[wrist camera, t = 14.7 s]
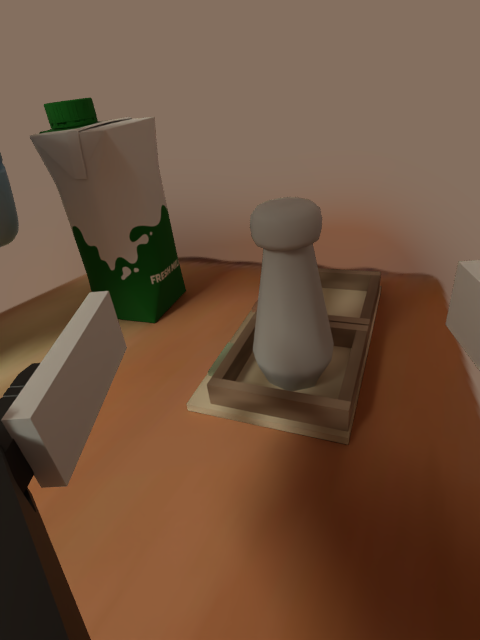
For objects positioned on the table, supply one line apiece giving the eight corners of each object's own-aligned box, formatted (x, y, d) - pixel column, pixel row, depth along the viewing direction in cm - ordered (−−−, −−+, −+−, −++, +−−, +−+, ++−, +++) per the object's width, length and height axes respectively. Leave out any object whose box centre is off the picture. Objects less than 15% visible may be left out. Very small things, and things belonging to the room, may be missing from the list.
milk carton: (131, 283, 49) (79, 98, 39) (198, 288, 46) (160, 88, 36) (85, 321, 43) (7, 109, 32) (159, 329, 39) (99, 97, 29)
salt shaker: (264, 348, 34) (248, 190, 27) (334, 352, 32) (336, 186, 25) (248, 396, 29) (224, 219, 22) (330, 403, 27) (331, 216, 21)
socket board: (188, 410, 29) (181, 385, 28) (273, 283, 45) (271, 263, 44) (348, 444, 25) (349, 417, 24) (380, 291, 41) (382, 269, 40)
